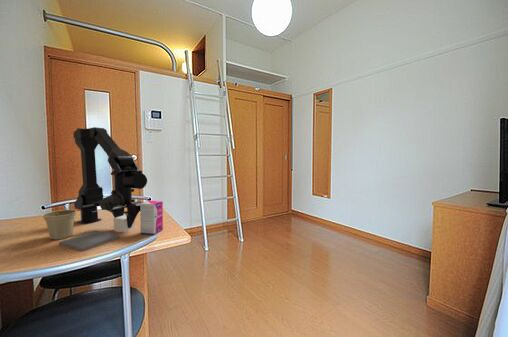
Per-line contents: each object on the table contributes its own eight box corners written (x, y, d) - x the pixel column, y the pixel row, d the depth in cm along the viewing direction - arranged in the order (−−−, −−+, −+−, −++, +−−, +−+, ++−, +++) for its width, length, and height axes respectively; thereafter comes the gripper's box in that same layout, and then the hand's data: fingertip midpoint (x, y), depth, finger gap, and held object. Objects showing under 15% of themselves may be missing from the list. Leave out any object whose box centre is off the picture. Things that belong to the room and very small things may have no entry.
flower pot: (49, 243, 77) (48, 217, 76) (39, 238, 82) (37, 213, 81) (82, 235, 85) (81, 211, 84) (71, 230, 90) (70, 208, 89)
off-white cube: (114, 231, 89) (113, 218, 89) (125, 227, 94) (125, 214, 94) (123, 232, 88) (123, 219, 87) (134, 228, 92) (134, 216, 92)
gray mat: (58, 245, 76) (58, 242, 75) (96, 233, 87) (96, 230, 87) (82, 251, 71) (82, 247, 71) (119, 237, 82) (119, 235, 82)
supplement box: (154, 235, 85) (153, 204, 84) (140, 234, 86) (138, 203, 85) (163, 230, 90) (162, 200, 89) (150, 229, 91) (149, 200, 91)
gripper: (85, 188, 86) (87, 230, 87) (121, 191, 79) (123, 237, 80) (113, 184, 96) (115, 222, 97) (147, 187, 89) (149, 227, 90)
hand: (124, 227), depth 91 cm, fingers closed on off-white cube, 5 cm apart
